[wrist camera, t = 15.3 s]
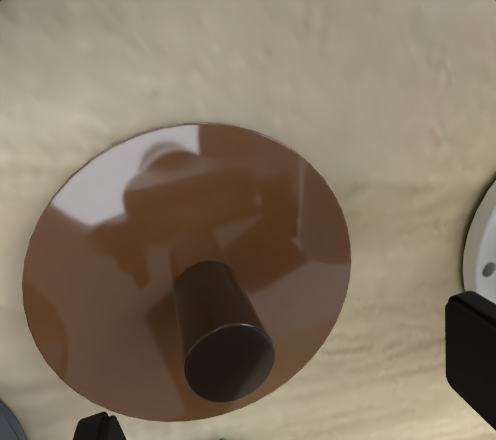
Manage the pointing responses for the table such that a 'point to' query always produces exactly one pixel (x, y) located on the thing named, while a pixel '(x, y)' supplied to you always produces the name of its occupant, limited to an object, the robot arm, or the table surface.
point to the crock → (9, 425)
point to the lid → (186, 272)
